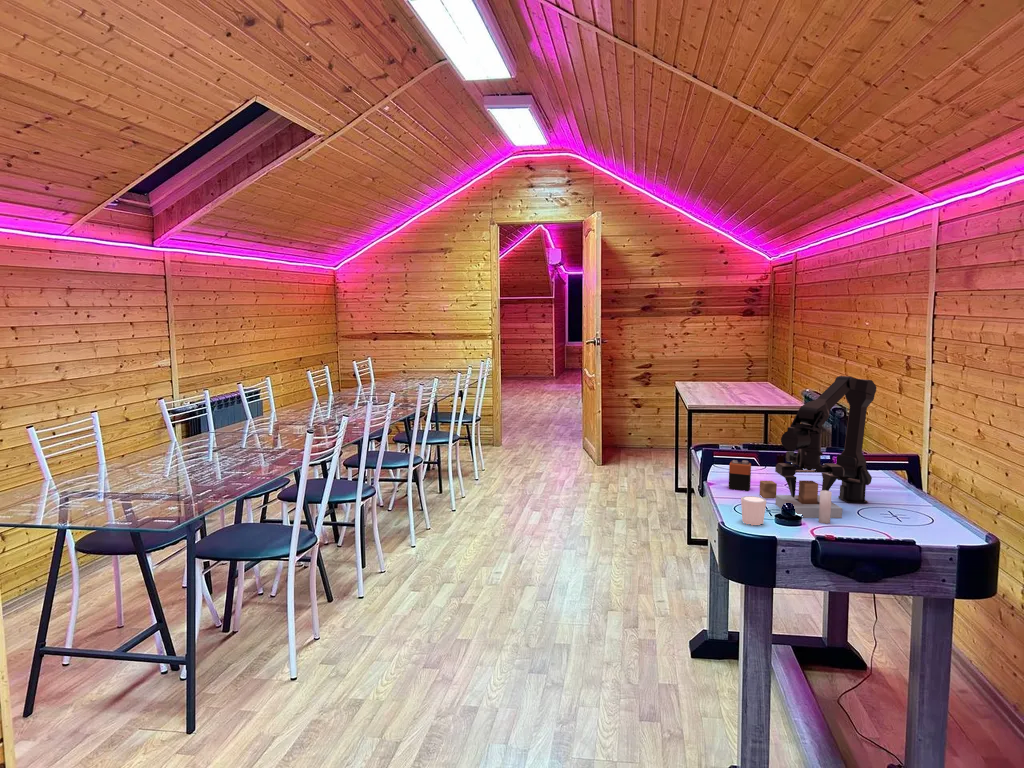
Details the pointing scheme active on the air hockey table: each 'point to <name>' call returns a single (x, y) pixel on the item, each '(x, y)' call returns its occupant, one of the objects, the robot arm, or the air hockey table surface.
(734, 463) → the battery
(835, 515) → the gauge block
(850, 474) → the robot arm
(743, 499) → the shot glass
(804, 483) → the brown rectangular block
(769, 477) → the air hockey table surface
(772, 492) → the short brown block
